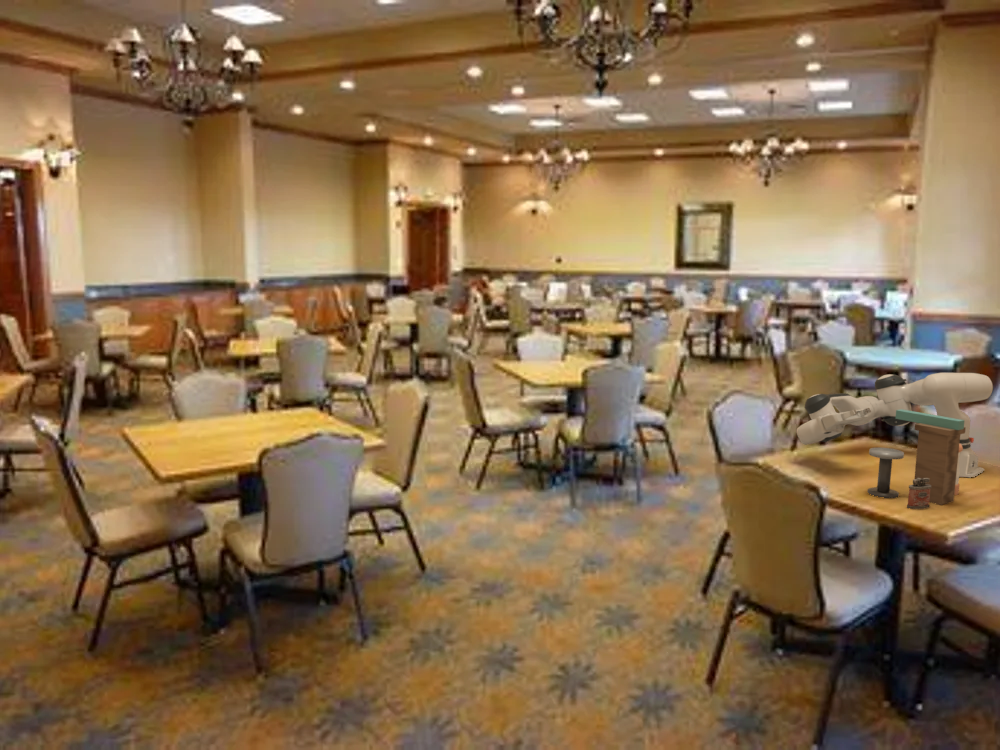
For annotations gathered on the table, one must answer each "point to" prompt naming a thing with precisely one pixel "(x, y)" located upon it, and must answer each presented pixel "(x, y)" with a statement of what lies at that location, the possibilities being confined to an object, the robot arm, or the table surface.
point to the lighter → (919, 494)
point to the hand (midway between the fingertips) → (862, 410)
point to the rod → (930, 419)
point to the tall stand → (938, 460)
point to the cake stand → (885, 471)
